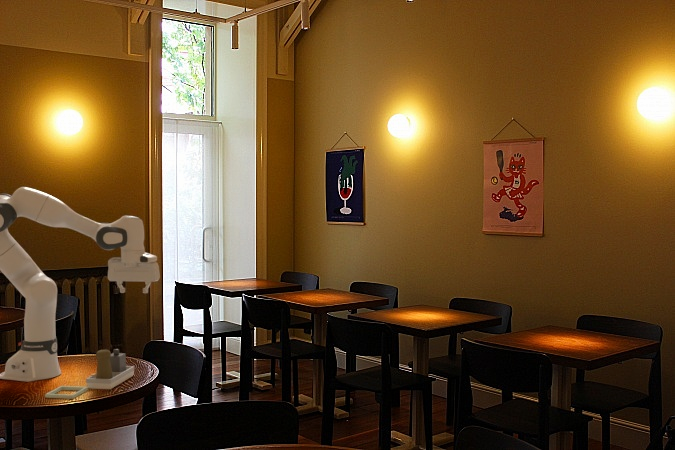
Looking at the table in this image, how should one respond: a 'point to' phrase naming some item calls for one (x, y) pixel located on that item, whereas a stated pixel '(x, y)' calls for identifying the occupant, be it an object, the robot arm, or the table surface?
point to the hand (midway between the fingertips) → (134, 292)
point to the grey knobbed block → (118, 361)
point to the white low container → (109, 383)
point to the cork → (103, 365)
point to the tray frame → (53, 395)
